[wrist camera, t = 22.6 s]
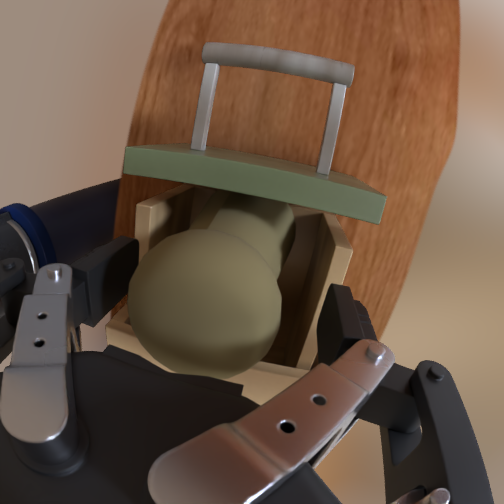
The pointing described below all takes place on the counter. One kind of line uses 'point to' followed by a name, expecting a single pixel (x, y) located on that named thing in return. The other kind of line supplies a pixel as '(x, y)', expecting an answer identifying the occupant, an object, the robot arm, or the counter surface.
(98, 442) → the robot arm
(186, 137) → the counter surface
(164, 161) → the drawer
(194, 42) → the counter surface
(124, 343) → the cabinet
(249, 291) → the cork
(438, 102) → the counter surface
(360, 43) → the counter surface
